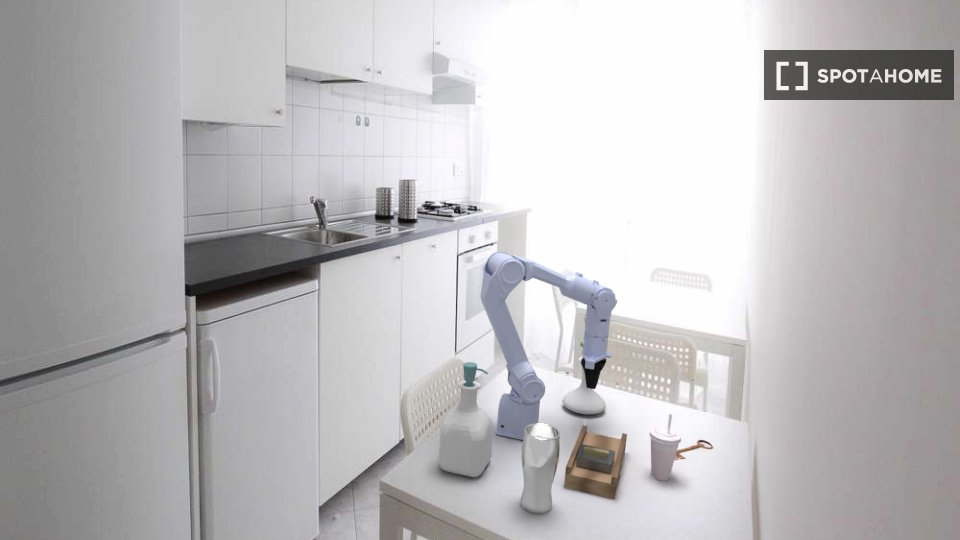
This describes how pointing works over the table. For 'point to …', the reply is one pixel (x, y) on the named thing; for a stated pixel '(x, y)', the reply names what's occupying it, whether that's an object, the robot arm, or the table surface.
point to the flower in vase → (584, 397)
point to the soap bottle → (466, 431)
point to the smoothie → (663, 450)
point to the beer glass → (539, 466)
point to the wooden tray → (591, 478)
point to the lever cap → (595, 458)
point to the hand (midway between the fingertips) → (591, 387)
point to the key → (692, 449)
